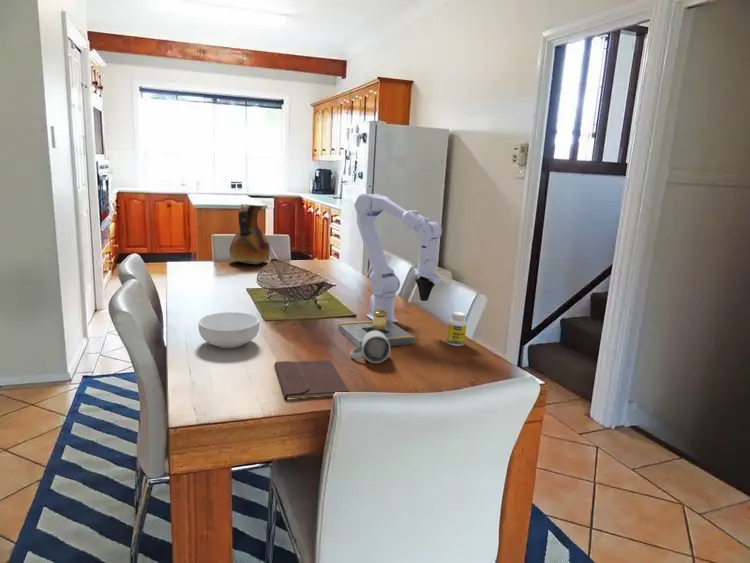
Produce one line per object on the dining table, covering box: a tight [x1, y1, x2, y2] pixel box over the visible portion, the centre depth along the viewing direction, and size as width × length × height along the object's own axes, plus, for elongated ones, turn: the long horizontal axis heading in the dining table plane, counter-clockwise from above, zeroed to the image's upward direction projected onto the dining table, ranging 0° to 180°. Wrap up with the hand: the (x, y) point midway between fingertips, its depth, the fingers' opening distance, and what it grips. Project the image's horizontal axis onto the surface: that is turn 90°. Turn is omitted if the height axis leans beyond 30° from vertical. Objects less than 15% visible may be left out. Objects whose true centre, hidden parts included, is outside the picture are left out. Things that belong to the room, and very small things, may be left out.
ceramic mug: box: [349, 331, 391, 364], centre depth 145 cm, size 11×8×8 cm
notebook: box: [273, 359, 350, 399], centre depth 128 cm, size 15×20×2 cm
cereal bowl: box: [198, 311, 260, 349], centre depth 149 cm, size 17×17×7 cm
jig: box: [338, 320, 415, 347], centre depth 164 cm, size 18×18×2 cm
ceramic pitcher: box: [229, 203, 271, 265], centre depth 262 cm, size 20×20×30 cm
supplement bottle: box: [446, 311, 467, 347], centre depth 161 cm, size 5×5×10 cm
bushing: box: [372, 310, 387, 334], centre depth 163 cm, size 5×5×8 cm
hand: (424, 300), depth 170 cm, fingers closed
